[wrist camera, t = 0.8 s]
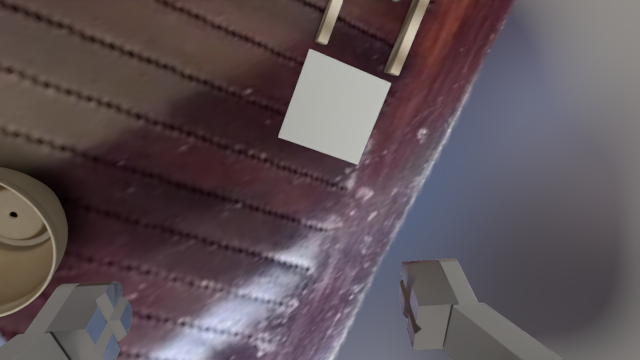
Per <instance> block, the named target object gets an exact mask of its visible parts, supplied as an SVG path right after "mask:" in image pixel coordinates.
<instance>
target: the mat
mask: <svg viewBox="0 0 640 360" xmlns="http://www.w3.org/2000/svg"><path fill="white" fill-rule="evenodd" d="M390 85H391V83H389V82H387V81H384V80H382V79H380V78H377V77H375V76H373V75H370V74H368V73H366V72H363V71H361V70H359V69H356V68H354V67H352V66H349V65H347V64H345V63H342V62H340V61H338V60H335V59H333V58H331V57H328V56H326V55H324V54H321V53H319V52H317V51H314V50H312V49H309V51H308V54H307V57H306V60H305V62H304V65H303V68H302V71H301V74H300V76H299V79H298V82H297V85H296V87H295V90H294V93H293V96H292V99H291V101H290V104H289V107H288V110H287V113H286V115H285V118H284V121H283V124H282V127H281V129H280V132H279V135H278V137H279V138H282V139H285V140H288V141H291V142H294V143H297V144H300V145H302V146H305V147H308V148H311V149H314V150H317V151H320V152H323V153H325V154H328V155H331V156H334V157H337V158H340V159H343V160H346V161H349V162H351V163H354V164H357V165H358V163H359V161H360V158H361V156H362V153H363V151H364V148H365V146H366V144H367V141H368V139H369V136H370V134H371V131H372V129H373V126H374V124H375V122H376V119H377V117H378V114H379V112H380V109H381V107H382V104H383V102H384V100H385V97H386V95H387V92H388V90H389V87H390Z"/></svg>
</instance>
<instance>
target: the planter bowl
mask: <svg viewBox="0 0 640 360" xmlns="http://www.w3.org/2000/svg"><path fill="white" fill-rule="evenodd" d="M11 212H16V213H17V217H12V216H11V215H10V213H11ZM67 239H68V225H67V220H66V216H65V212H64V210H63V208H62V206H61V203H60V201H59V199H58V197H57V196H56V195H55V193H54V192H53V191H52V190H51V189H50V188H49V187H48V186H46V185H45V184H43V183H42V182H40V181H38V180H36V179H34V178H32V177H30V176H28V175H26V174H24V173H21V172H18V171H15V170H12V169H8V168H3V167H0V317H1V316H5V315H8V314H10V313H13V312H15V311H17V310H19V309H21V308H23V307H25V306H26V305H28V304H29V303H31V302H32V301H33V300H34V299H35V298H37V297H38V296H39V295H40V294H41V292H42V291H43V290H44V289H45V288H46V286H47V285H48V283H49V282H50V280H51V279H52V277H53V275H54V272H55V271H56V269H57V268H58V266H59V264H60V262H61V260H62V258H63V255H64V252H65V249H66V245H67Z"/></svg>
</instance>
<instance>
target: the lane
mask: <svg viewBox="0 0 640 360" xmlns="http://www.w3.org/2000/svg"><path fill="white" fill-rule="evenodd" d="M342 2H343V0H329V2H328V5H327V8H326V10H325V13H324V16H323V19H322V21H321V24H320V27H319V30H318V33H317V35H316V38H315V41H314V42H316V43H319V44H321V45H326V44H327V43H328V40H329V38H330V35H331V32H332V29H333V27H334V24H335V21H336V18H337V16H338V13H339V10H340V8H341V5H342ZM428 3H429V0H412V3H411V5H410V8H409V10H408V13H407V15H406V18H405V20H404V23H403V25H402V27H401V30H400V32H399V35H398V37H397V40H396V42H395V45H394V47H393V50H392V52H391V55H390V57H389V60H388V62H387V65H386V67H385V70H384V72H386V73H388V74H390V75H399V73H400V71H401V68H402V66H403V63H404V61H405V59H406V56H407V54H408V51H409V49H410V46H411V44H412V42H413V39H414V37H415V34H416V32H417V29H418V27H419V25H420V22H421V20H422V17H423V15H424V12H425V10H426V8H427V5H428Z"/></svg>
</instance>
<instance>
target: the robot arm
mask: <svg viewBox="0 0 640 360" xmlns="http://www.w3.org/2000/svg"><path fill="white" fill-rule="evenodd" d="M401 274H402V277H403V280H402V281H401V282H400V286H399V295H400V304H401V308H402V312H403V315H404V316H405V317H406V318H407V319H408V323H407V331H408V334H409V338H410V341H411V345H412V349H413V350H418V349H419V350H420V349H444V351H445V352H446V353H447V354H448V356H450V358H451V359H452V360H563V359H562V358H560V357H559V356H558V355H556V354H555V353H553V352H552V351H551V350H549V349H548V348H546V347H545V346H543V345H542V344H541V343H539V342H538V341H537V340H535V339H534V338H532V337H531V336H530V335H528V334H527V333H525V332H524V331H522V330H521V329H520V328H518V327H517V326H515V325H514V324H513V323H511V322H510V321H509V320H507V319H506V318H504V317H503V316H501V315H500V314H499V313H497V312H496V311H495V310H493V309H492V308H490V307H489V306H487V305H486V304H485V303H478V301H477V299H476V297H475V295H474V293H473V291H472V289H471V287H470V285H469V283H468V281H467V279H466V277H465V275H464V273H463V271H462V269H461V267H460V265H459V263H458V261H457V260H456V259H455V258H449V259H437V260H423V261H411V262H402V265H401ZM122 292H123V289H122V287H121V285H120V283H119V282H94V283H78V284H62V285H61V286H59V287H57V288H56V289H55V291H54V292H53V294H52V295H51V297H50V298H49V299H48V301H47V302H46V304H45V305H44V306H43V308H42V309H41V311H40V312H39V313H38V315H37V316H36V318H35V319H34V321H33V322H32V323H31V325H30V326H29V328H28V329H27V330H26V332H25V333H24V334H20V335H17V336H15V337H14V338H13V339H11V340H10V341H8V342H7V343H5V344H4V345H3V346H1V347H0V360H116V358H117V356H118V353H119V351H120V349H121V348H120V345H119V342H118V341H120V340H121V339H122V338H123V337H124V336H125V335H126V334H127V333H128V331H129V328H130V326H131V320H132V309H131V305H130V303H129V301H128V300H126V299H125V298H123V297H122V296H121V294H122Z"/></svg>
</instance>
